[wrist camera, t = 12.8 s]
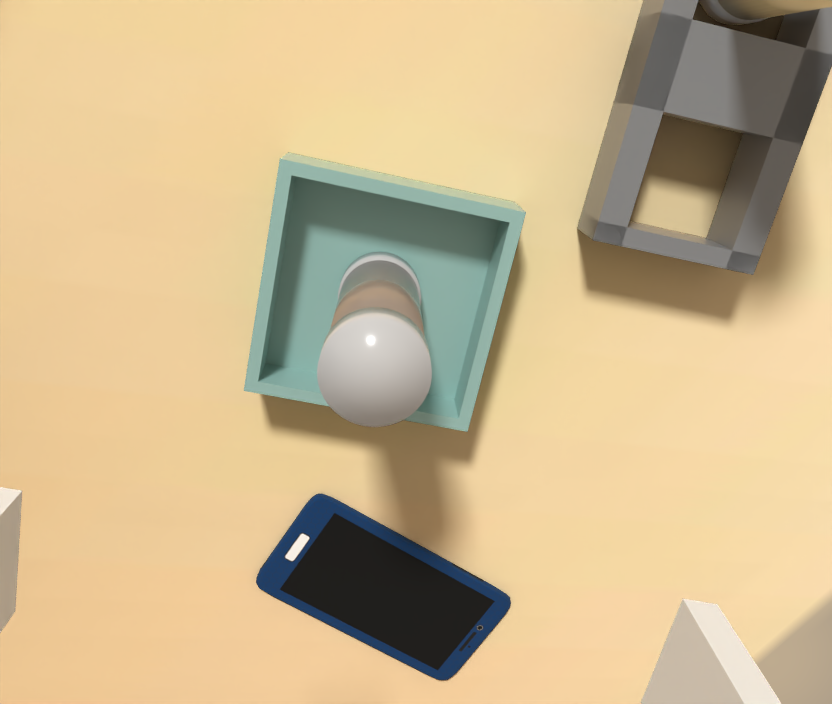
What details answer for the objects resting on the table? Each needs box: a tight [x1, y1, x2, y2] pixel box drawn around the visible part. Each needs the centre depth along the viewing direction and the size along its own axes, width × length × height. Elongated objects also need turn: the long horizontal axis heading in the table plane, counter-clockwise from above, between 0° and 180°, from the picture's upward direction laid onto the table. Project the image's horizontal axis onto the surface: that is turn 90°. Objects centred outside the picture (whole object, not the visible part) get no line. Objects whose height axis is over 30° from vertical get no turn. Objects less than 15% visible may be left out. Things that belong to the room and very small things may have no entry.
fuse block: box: [577, 0, 832, 275], centre depth 34 cm, size 16×8×3 cm, turn 168°
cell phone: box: [256, 494, 511, 680], centre depth 44 cm, size 7×14×1 cm, turn 56°
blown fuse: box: [317, 252, 432, 427], centre depth 32 cm, size 4×4×12 cm
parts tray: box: [244, 153, 526, 432], centre depth 37 cm, size 11×11×3 cm
